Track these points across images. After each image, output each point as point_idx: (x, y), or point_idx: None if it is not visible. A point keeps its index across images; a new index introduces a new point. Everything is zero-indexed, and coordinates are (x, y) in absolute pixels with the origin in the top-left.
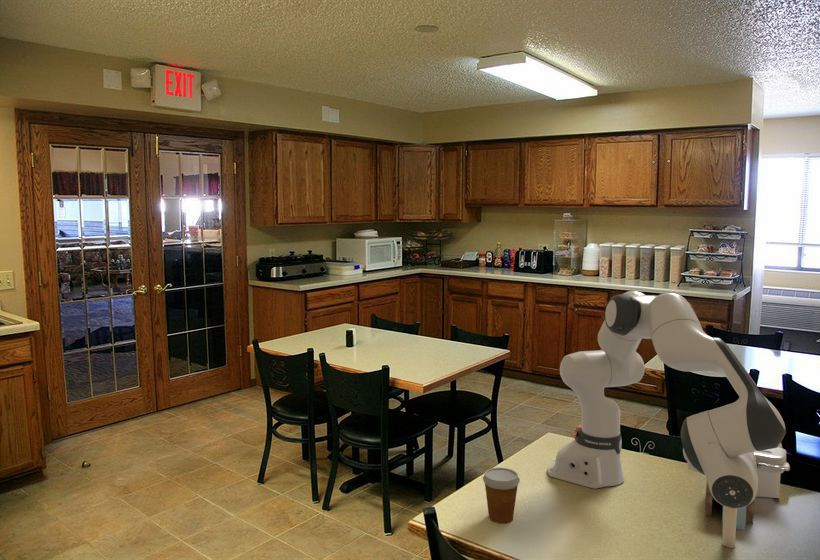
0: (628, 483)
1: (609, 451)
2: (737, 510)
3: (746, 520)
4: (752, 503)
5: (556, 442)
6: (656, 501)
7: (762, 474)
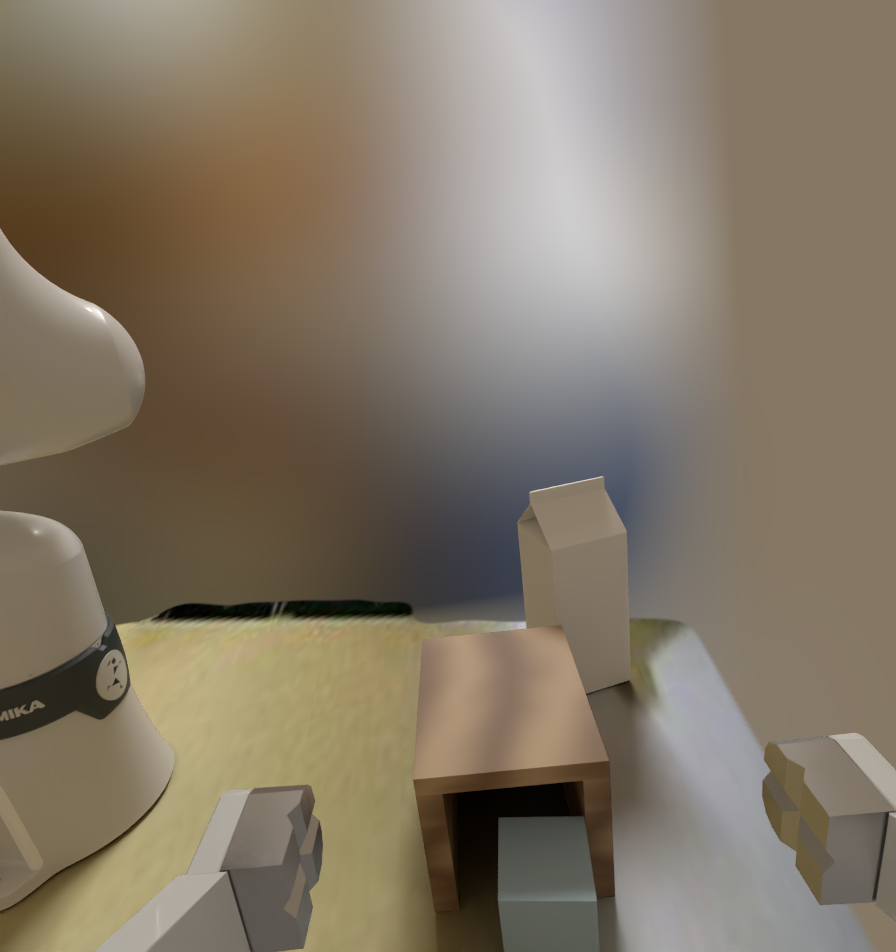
0: (179, 796)
1: (49, 730)
2: (564, 916)
3: None
4: (606, 826)
5: None
6: None
7: (583, 630)
